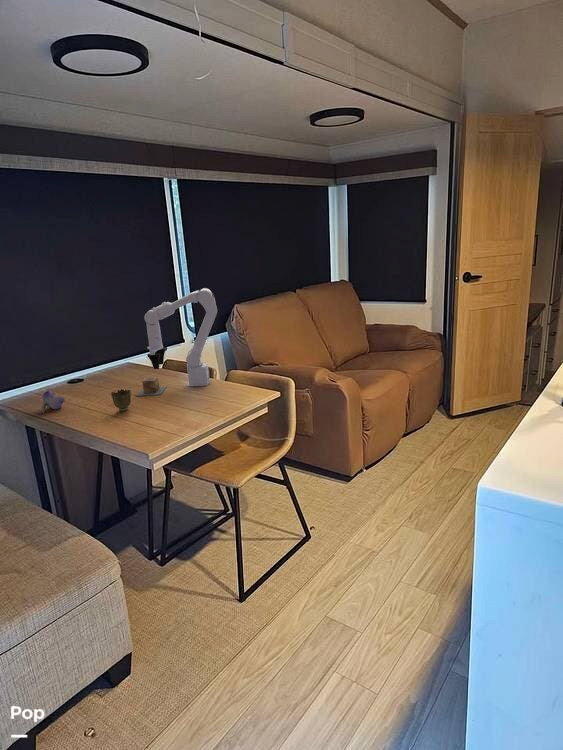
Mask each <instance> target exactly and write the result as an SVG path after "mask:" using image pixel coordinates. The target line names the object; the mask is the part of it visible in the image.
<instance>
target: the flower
mask: <svg viewBox="0 0 563 750" xmlns="http://www.w3.org/2000/svg"><path fill="white" fill-rule="evenodd" d="M41 396H42V398H41V399H42V401H43V403H42V405H41V412H42V414H45V413H44V412H45V409H46V407H47V408H51V409H53V410H60V408H61V409H62V408H63V406H62V405H63V404H64V403H65V398H64V397H63V396H61V395H60V396H59V395H57V394H56V395H55V391H52V392H51V391H50V389H47V390H46V391H45V392H44V393H43V394H42V395H41Z"/></svg>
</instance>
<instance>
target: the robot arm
mask: <svg viewBox="0 0 563 750" xmlns="http://www.w3.org/2000/svg"><path fill="white" fill-rule="evenodd" d="M191 303H193V304H198V303H199V304H200V305H201V306H202V307H203V309H204V310H205V315H204V318H203V320H202V323H201V326H200V328H199V330H198V333H197V336H196V338H195V341H194V342H193V345H192V348H191V349H190V350H189V351H188V352H187V356H186V358H185V361H186V370H187V379H188V380H187V381H188V383H187V385H186V387H189V388H190V387H207V386H208V385H209V383H210V382H211V379H210V371H209V366H208V364H203V362H202V360H201V358H202V353H203V349H204V348H205V345H206V342H207V340H208V336H209V334H210V332H211V329H212V327H213V324H214V323H215V319H216V317H217V314H218V307H217V304H216V303H217V302H216V299H215V294H214V293H213V292H212V291H211V290H210V289H209V288H207V287H204V288H201V289H200V290H199V289H198V290H195V291H193V292H190V293H188V294H186V295H184V296H182V297H181V298H179V299H177V300H176V301H173V302H169V301H167V302H166V301H163V302H161V304H160V305H158V306H156V307H155V306H154V307H152V308H151V309H149V310H148V311H147V312H146V313H145V314H144V318H143V319H144V321H145V323H146V331H147V339H148V346H147V347H146V349H147V350H149V353H147V354H146V355H147V358H148V359H149V360H150V362H151V365H152V367H153V369H154V370H159V369H160V365H164V362H165V361H164V359H165V352H166V347H164V344H163V340H162V338H163V337H162V333H161V331H162V330H161V327H160V321H161V320H163V319H166V318H168V317H169V316H171V315H173V314H175V311H176V310H177V309H179V308H182V307H184V306H186V305H188V304H191ZM159 320H160V321H159Z"/></svg>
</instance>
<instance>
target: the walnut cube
mask: <svg viewBox="0 0 563 750" xmlns="http://www.w3.org/2000/svg"><path fill="white" fill-rule="evenodd" d="M159 382H160V381H159V377H158V376H153V377H152V376H151V377H149V376H148V377H145V378H144V379H142V388H143V390H144V393H156V392H157V391H158V390H159V389H160V388H159V387H160V383H159Z"/></svg>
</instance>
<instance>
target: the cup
mask: <svg viewBox="0 0 563 750" xmlns="http://www.w3.org/2000/svg"><path fill="white" fill-rule="evenodd" d="M110 396H111V399H112V403H113V405H114V406H115V407H116V408H117V409H118V411H119V412H121V413H124V412H126V411H128V410H129V406H130V405H131V401H132V399H131V397H132V396H131V390H130V389H123V388H122V389H118V390H117V392H115V391H112V392H111V393H110Z"/></svg>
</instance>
